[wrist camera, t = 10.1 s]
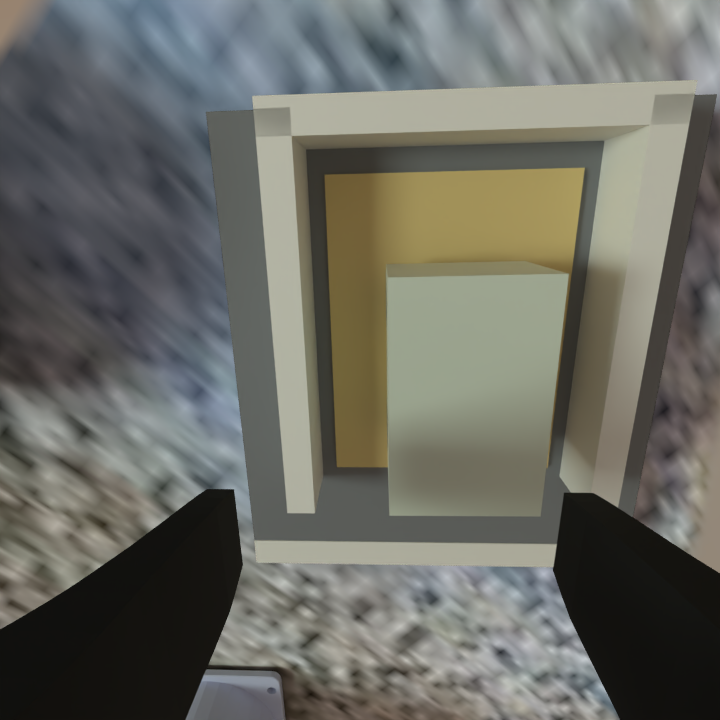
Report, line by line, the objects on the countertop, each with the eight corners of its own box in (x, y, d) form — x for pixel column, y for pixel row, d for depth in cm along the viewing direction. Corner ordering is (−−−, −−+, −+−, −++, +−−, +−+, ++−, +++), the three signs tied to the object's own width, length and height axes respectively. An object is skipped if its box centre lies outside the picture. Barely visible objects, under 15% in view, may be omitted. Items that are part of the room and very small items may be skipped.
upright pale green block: (499, 440, 17) (540, 516, 13) (387, 441, 17) (389, 515, 13) (514, 257, 15) (568, 273, 11) (385, 260, 15) (387, 277, 11)
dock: (600, 535, 21) (657, 617, 17) (268, 531, 22) (240, 608, 17) (675, 109, 15) (788, 67, 11) (226, 124, 16) (171, 90, 12)
